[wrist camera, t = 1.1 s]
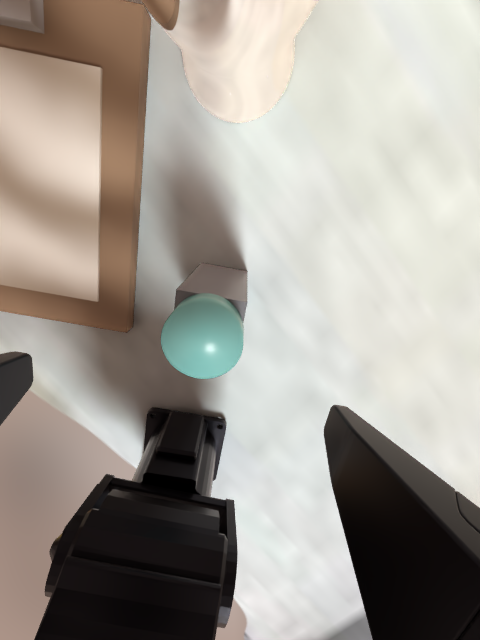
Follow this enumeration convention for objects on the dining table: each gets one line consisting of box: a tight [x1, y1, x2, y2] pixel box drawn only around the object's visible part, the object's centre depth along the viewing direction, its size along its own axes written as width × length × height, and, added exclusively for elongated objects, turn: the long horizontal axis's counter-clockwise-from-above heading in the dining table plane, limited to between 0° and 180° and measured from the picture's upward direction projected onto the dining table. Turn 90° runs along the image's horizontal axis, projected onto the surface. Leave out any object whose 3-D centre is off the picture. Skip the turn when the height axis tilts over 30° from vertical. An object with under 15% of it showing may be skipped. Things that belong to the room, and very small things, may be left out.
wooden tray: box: [0, 0, 151, 333], centre depth 18 cm, size 18×16×2 cm
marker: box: [161, 263, 247, 379], centre depth 16 cm, size 3×3×9 cm
